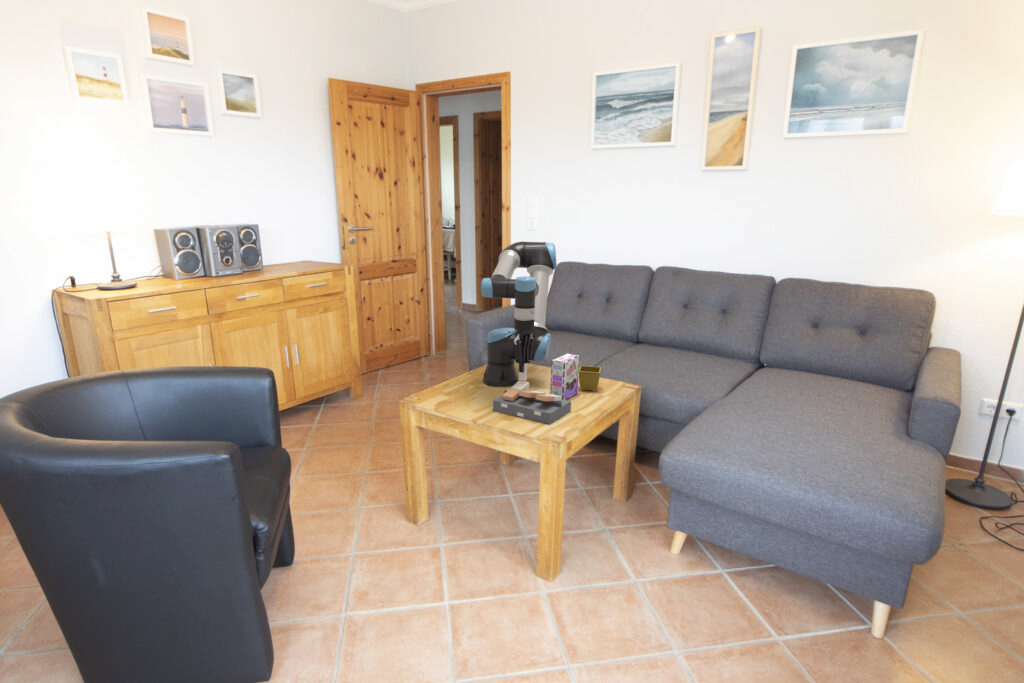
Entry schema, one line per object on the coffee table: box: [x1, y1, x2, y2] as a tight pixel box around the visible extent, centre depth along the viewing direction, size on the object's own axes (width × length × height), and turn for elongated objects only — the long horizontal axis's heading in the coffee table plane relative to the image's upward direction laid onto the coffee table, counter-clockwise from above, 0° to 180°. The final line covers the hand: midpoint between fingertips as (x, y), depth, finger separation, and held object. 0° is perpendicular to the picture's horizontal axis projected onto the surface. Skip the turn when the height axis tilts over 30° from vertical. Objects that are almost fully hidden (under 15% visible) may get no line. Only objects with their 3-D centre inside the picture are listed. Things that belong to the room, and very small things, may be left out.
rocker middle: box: [519, 390, 546, 398], centre depth 206 cm, size 4×12×2 cm, turn 147°
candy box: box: [549, 353, 580, 401], centre depth 222 cm, size 14×6×16 cm, turn 148°
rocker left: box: [502, 379, 530, 401], centre depth 209 cm, size 4×12×2 cm, turn 147°
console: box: [492, 390, 572, 425], centre depth 206 cm, size 24×16×6 cm
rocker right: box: [536, 393, 562, 401], centre depth 202 cm, size 4×12×2 cm, turn 147°
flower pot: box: [578, 365, 602, 391], centre depth 233 cm, size 9×9×9 cm
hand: (522, 379), depth 212 cm, fingers closed
